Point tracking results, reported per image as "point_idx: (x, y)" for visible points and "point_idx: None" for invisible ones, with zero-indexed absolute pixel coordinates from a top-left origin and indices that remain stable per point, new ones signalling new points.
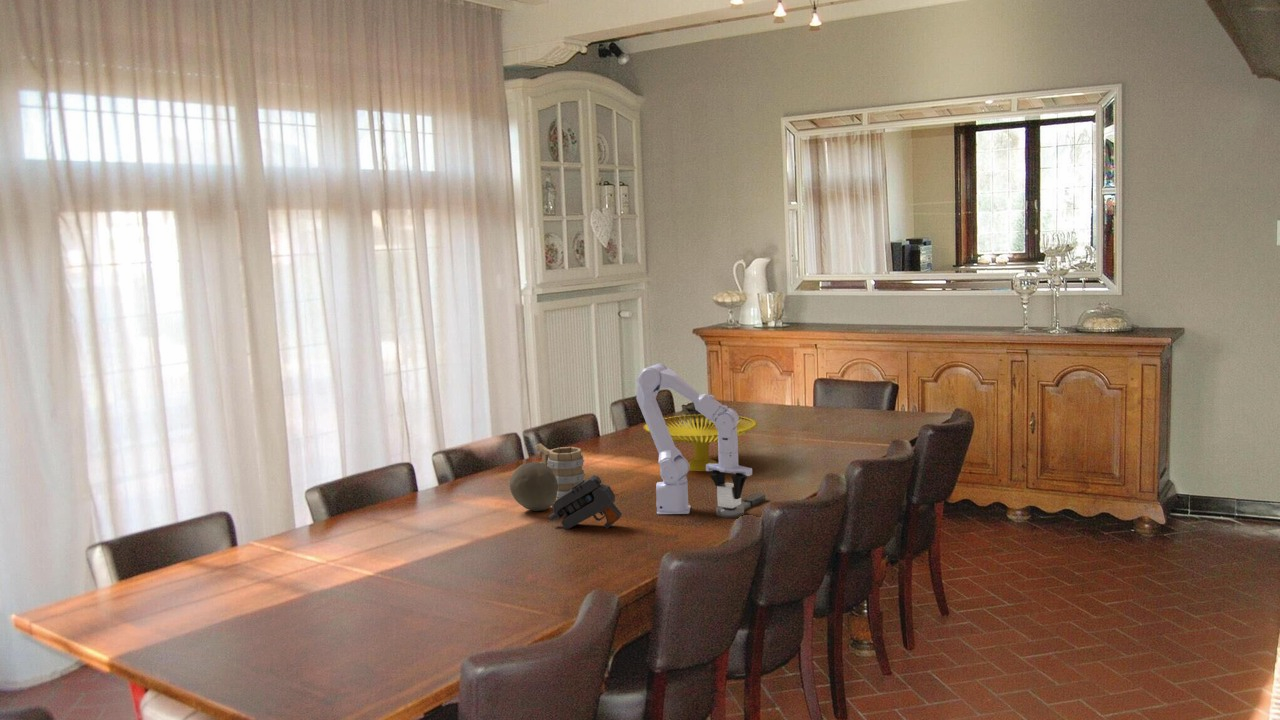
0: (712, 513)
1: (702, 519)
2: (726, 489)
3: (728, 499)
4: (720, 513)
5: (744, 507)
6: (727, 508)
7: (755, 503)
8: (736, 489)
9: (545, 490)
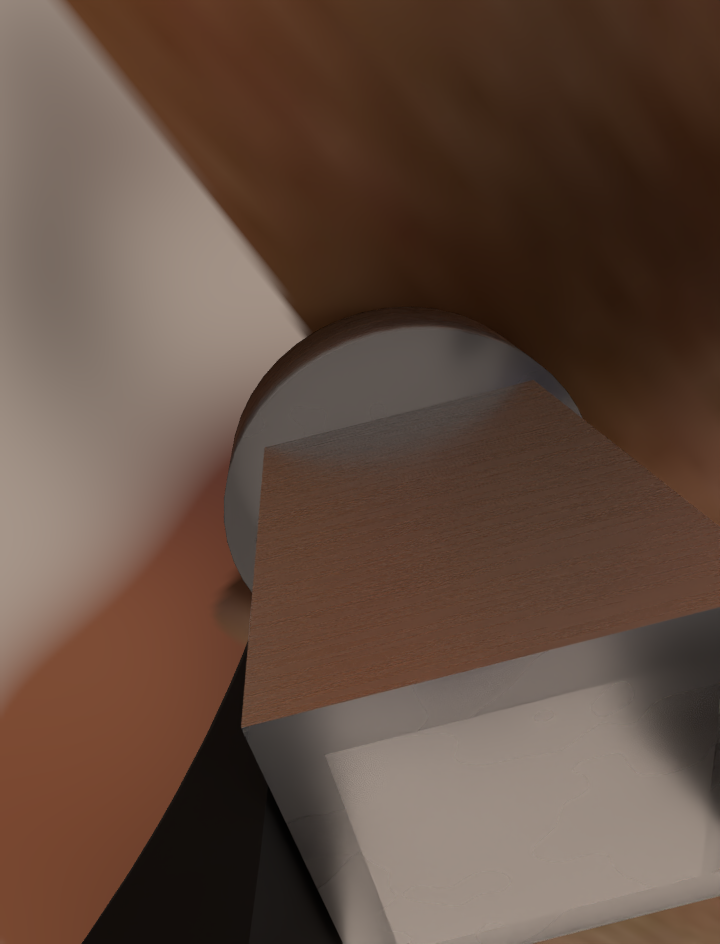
0: (595, 355)
1: (547, 8)
2: (419, 627)
3: (341, 496)
4: (416, 316)
5: None
6: None
7: None
8: (206, 772)
9: None
